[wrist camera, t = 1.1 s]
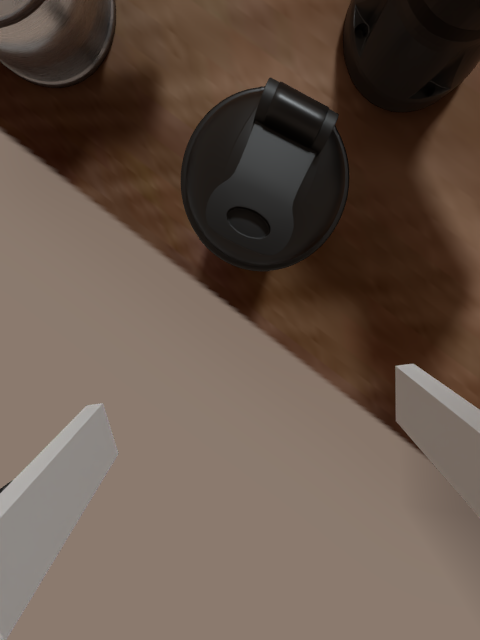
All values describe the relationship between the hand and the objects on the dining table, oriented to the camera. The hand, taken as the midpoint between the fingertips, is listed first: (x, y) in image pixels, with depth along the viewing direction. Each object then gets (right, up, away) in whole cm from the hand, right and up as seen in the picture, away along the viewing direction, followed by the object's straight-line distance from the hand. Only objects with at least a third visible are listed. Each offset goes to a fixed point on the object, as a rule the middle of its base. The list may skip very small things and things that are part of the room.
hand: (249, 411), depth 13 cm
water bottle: (+1, +17, +24) cm, 29 cm away
